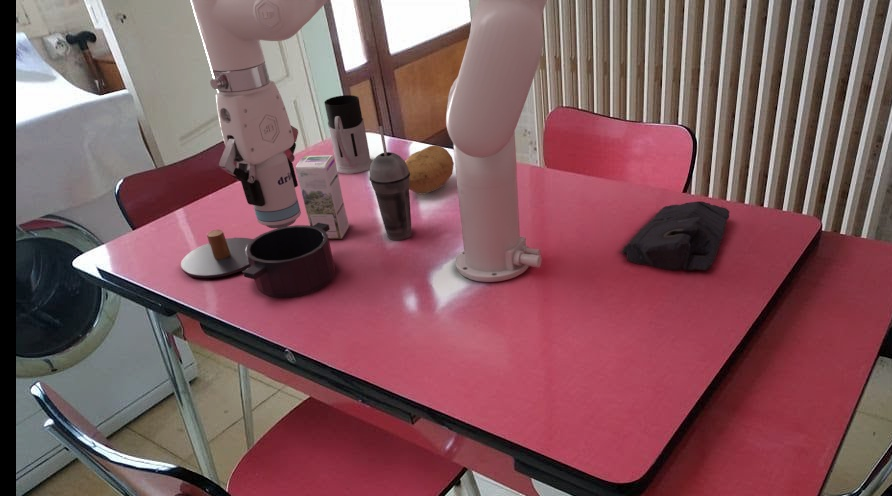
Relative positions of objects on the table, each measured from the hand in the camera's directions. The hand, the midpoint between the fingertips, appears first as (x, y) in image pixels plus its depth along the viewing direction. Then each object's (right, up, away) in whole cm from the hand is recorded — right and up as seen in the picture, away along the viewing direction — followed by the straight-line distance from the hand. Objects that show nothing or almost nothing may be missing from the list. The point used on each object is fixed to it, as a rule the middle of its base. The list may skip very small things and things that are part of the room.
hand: (273, 194), depth 109 cm
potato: (+21, +9, +36) cm, 43 cm away
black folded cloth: (+68, -6, +10) cm, 69 cm away
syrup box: (+4, -2, +22) cm, 23 cm away
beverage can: (0, -4, +3) cm, 5 cm away
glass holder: (+3, +17, +48) cm, 51 cm away
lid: (-14, -8, +16) cm, 22 cm away
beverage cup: (+17, -3, +20) cm, 26 cm away
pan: (+1, -12, +9) cm, 15 cm away
